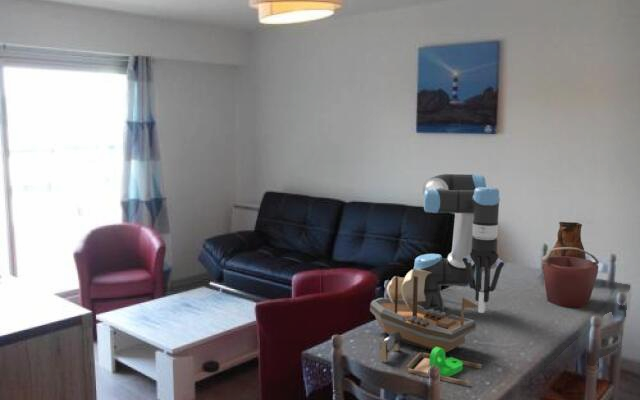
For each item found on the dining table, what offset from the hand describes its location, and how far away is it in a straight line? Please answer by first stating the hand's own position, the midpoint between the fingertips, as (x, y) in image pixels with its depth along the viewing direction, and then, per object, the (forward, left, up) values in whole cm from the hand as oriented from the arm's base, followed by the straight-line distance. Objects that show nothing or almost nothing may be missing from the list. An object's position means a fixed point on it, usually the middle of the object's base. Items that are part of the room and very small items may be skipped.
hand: (481, 311), depth 180 cm
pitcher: (+11, +133, -22) cm, 136 cm away
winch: (-31, +2, -22) cm, 38 cm away
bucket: (+15, +98, -22) cm, 102 cm away
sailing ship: (-25, +19, -22) cm, 39 cm away
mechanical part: (-10, 0, -22) cm, 24 cm away
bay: (-12, 0, -22) cm, 25 cm away
